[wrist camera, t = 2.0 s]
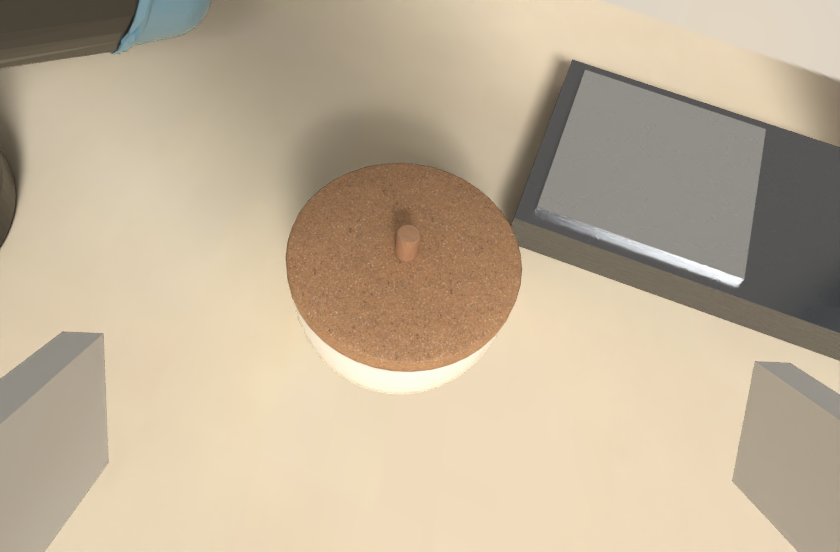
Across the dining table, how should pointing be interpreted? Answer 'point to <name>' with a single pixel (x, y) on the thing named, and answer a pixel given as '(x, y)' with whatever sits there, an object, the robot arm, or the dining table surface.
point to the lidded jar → (402, 276)
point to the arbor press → (690, 206)
